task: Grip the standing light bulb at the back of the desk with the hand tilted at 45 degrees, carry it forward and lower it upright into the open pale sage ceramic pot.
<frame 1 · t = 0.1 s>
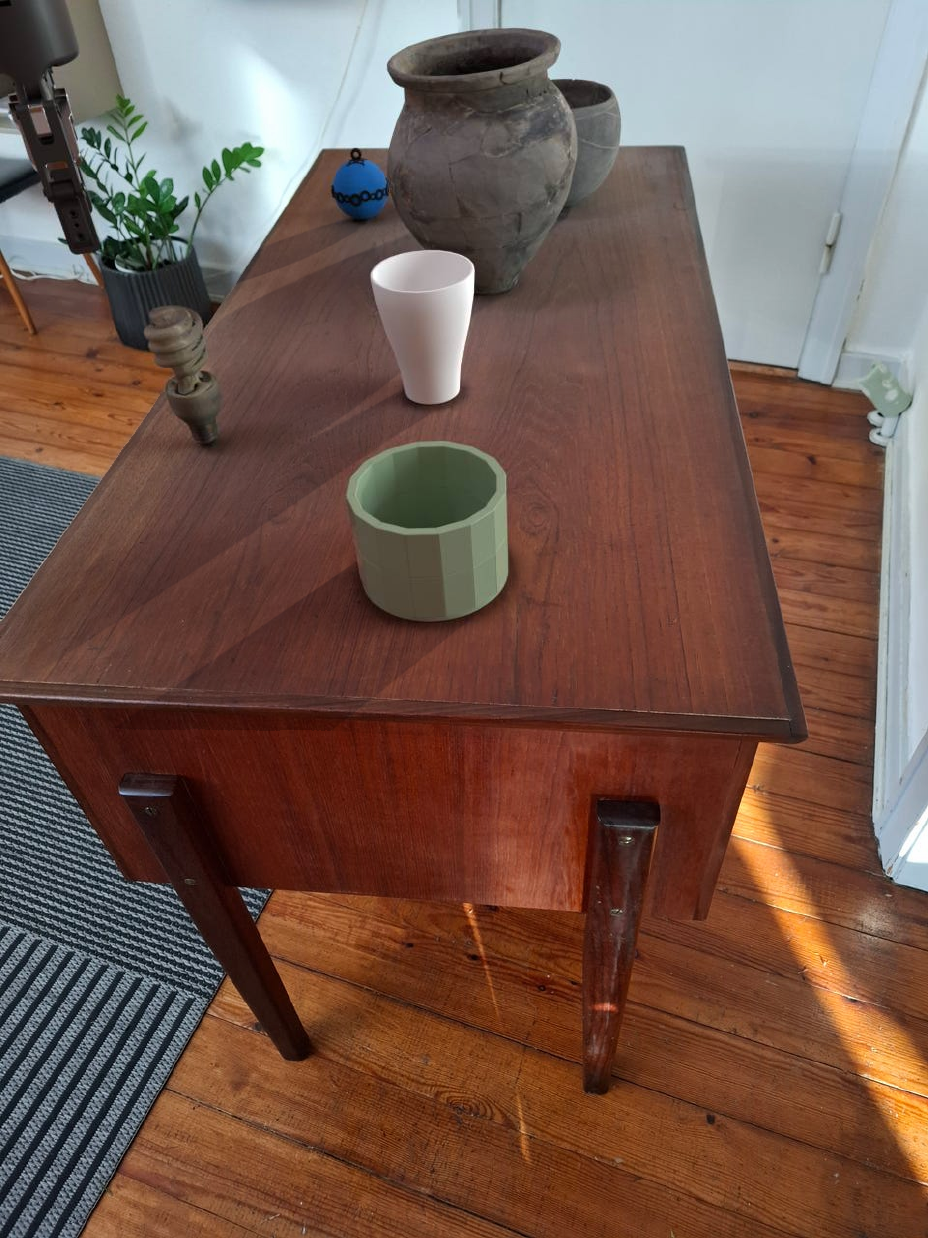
hand: (83, 232, 70), 25 cm above the table, tool pointing down, fingers open, 8 cm apart
cup: (432, 392, 99), on the table
ornament: (363, 219, 139), on the table
pot: (435, 571, 77), on the table
clay pot: (485, 283, 119), on the table
light bulb: (208, 446, 93), on the table
bowl: (549, 203, 139), on the table
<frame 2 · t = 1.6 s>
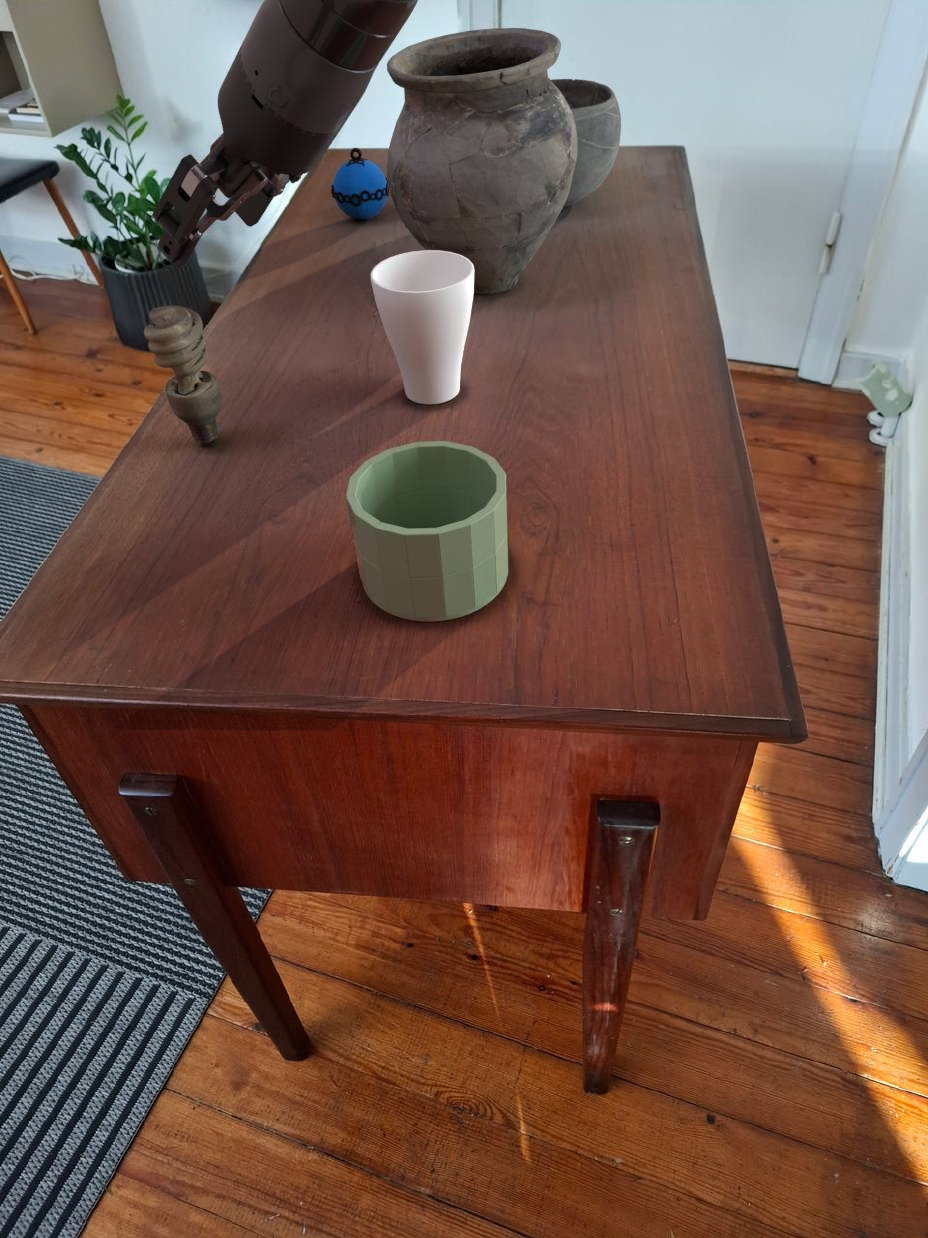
hand: (207, 235, 69), 25 cm above the table, tool tilted 45°, fingers open, 8 cm apart
nothing on the table moved.
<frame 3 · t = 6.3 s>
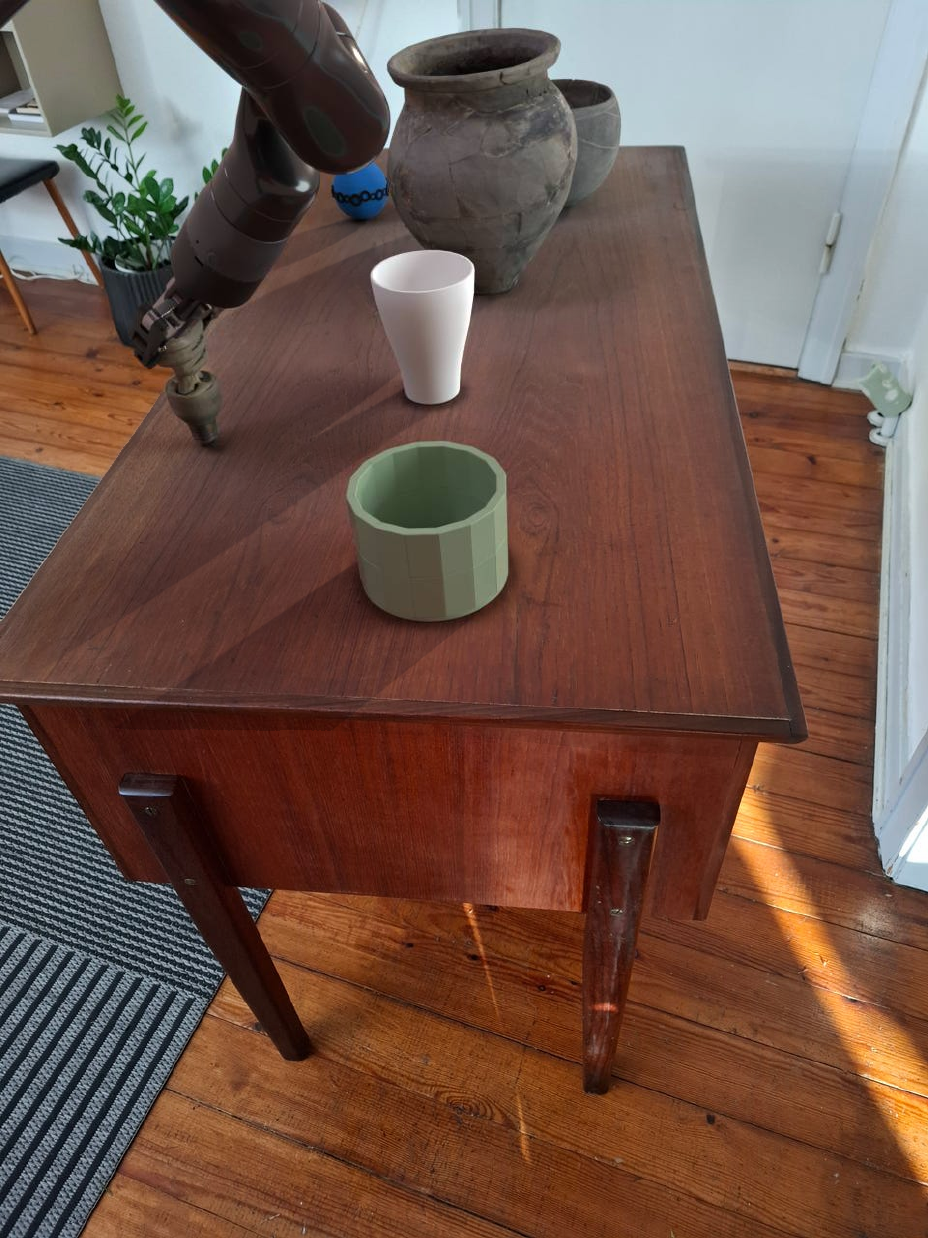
hand: (166, 346, 87), 11 cm above the table, tool tilted 45°, fingers closed on light bulb, 5 cm apart
light bulb: (208, 446, 93), on the table, touching gripper
everything else where it was.
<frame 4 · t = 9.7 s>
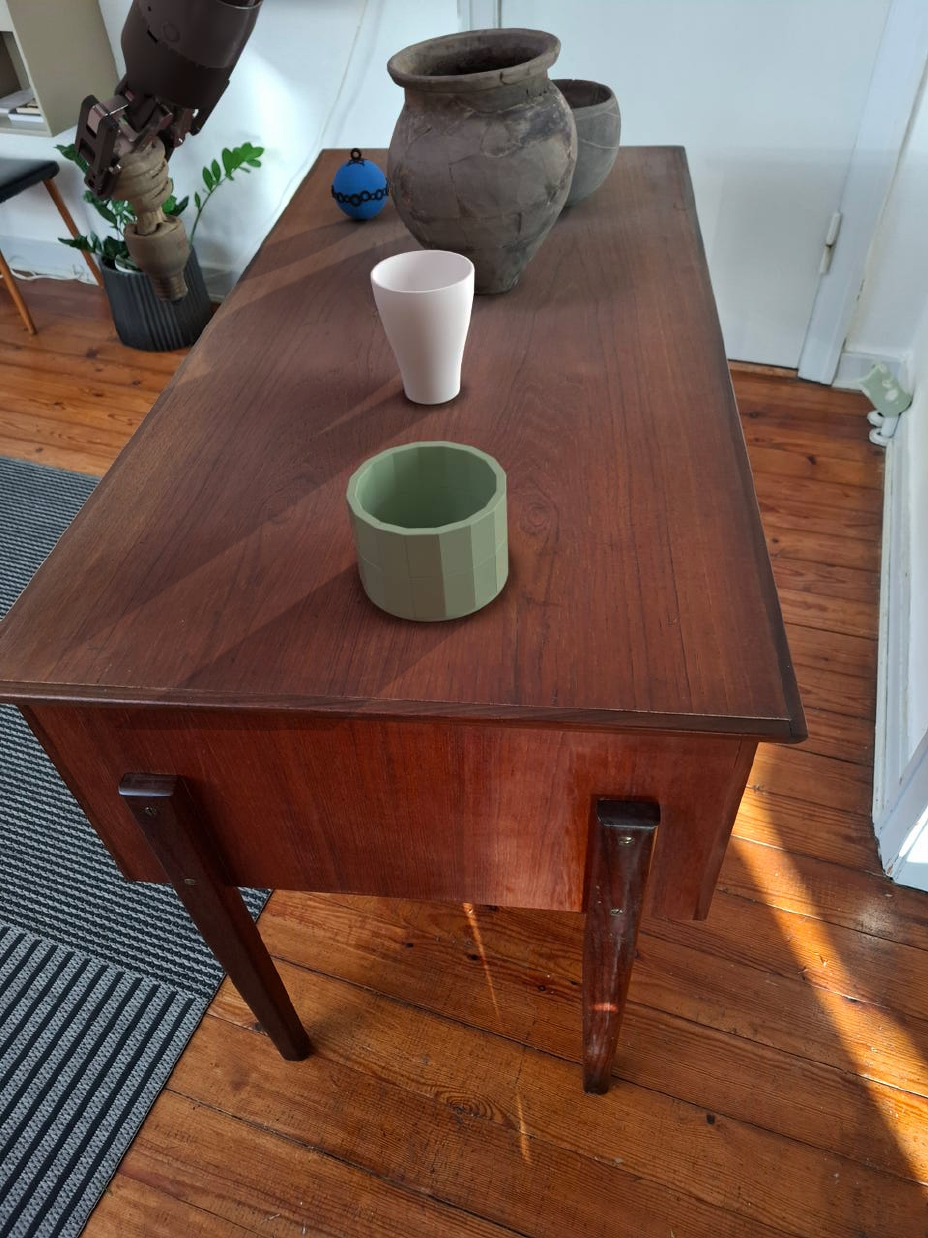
hand: (123, 178, 75), 26 cm above the table, tool tilted 45°, fingers closed on light bulb, 5 cm apart
light bulb: (175, 307, 82), point 15 cm above the table, touching gripper
everything else where it was.
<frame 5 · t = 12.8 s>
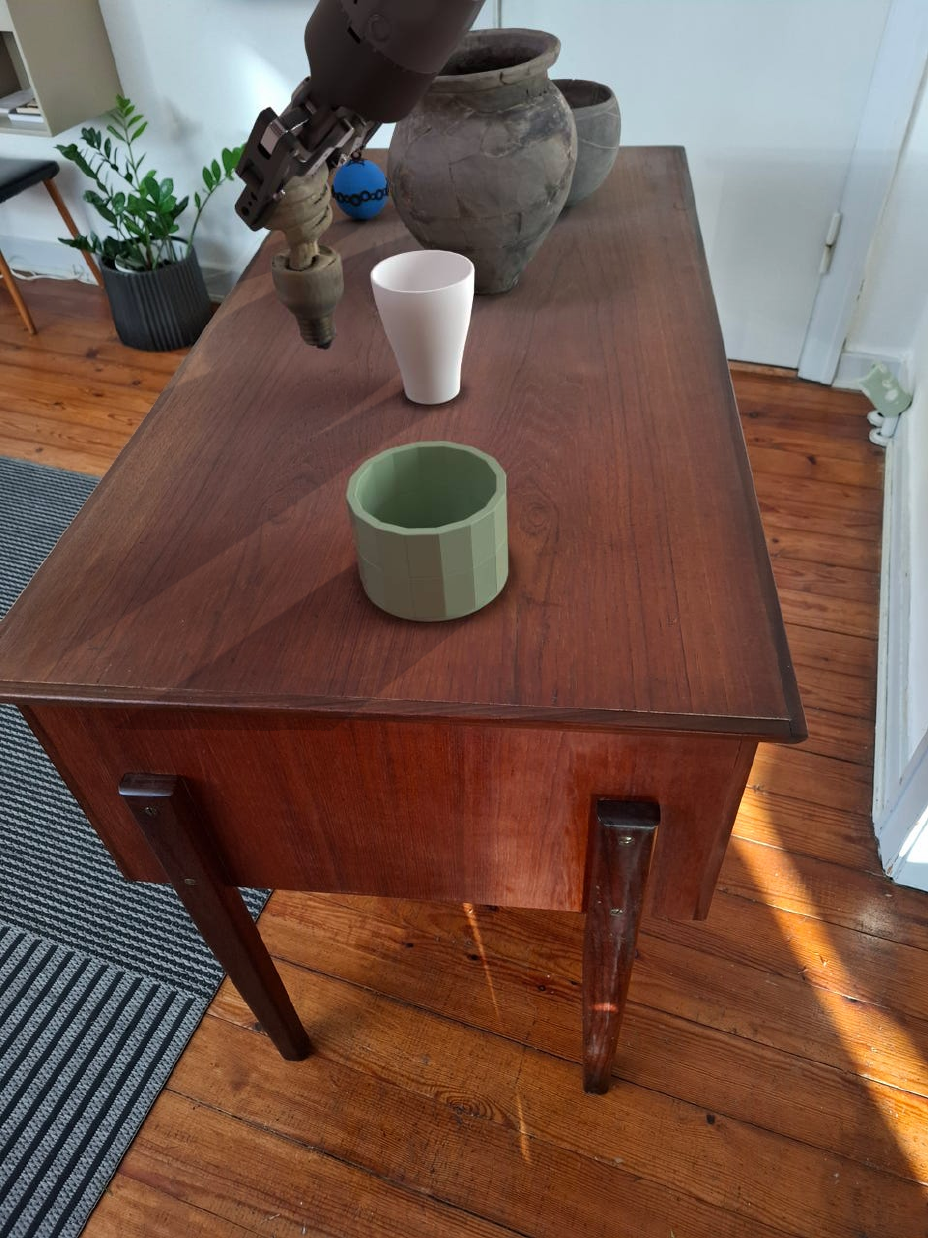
hand: (274, 204, 63), 28 cm above the table, tool tilted 45°, fingers closed on light bulb, 5 cm apart
light bulb: (320, 351, 70), point 17 cm above the table, touching gripper
everything else where it was.
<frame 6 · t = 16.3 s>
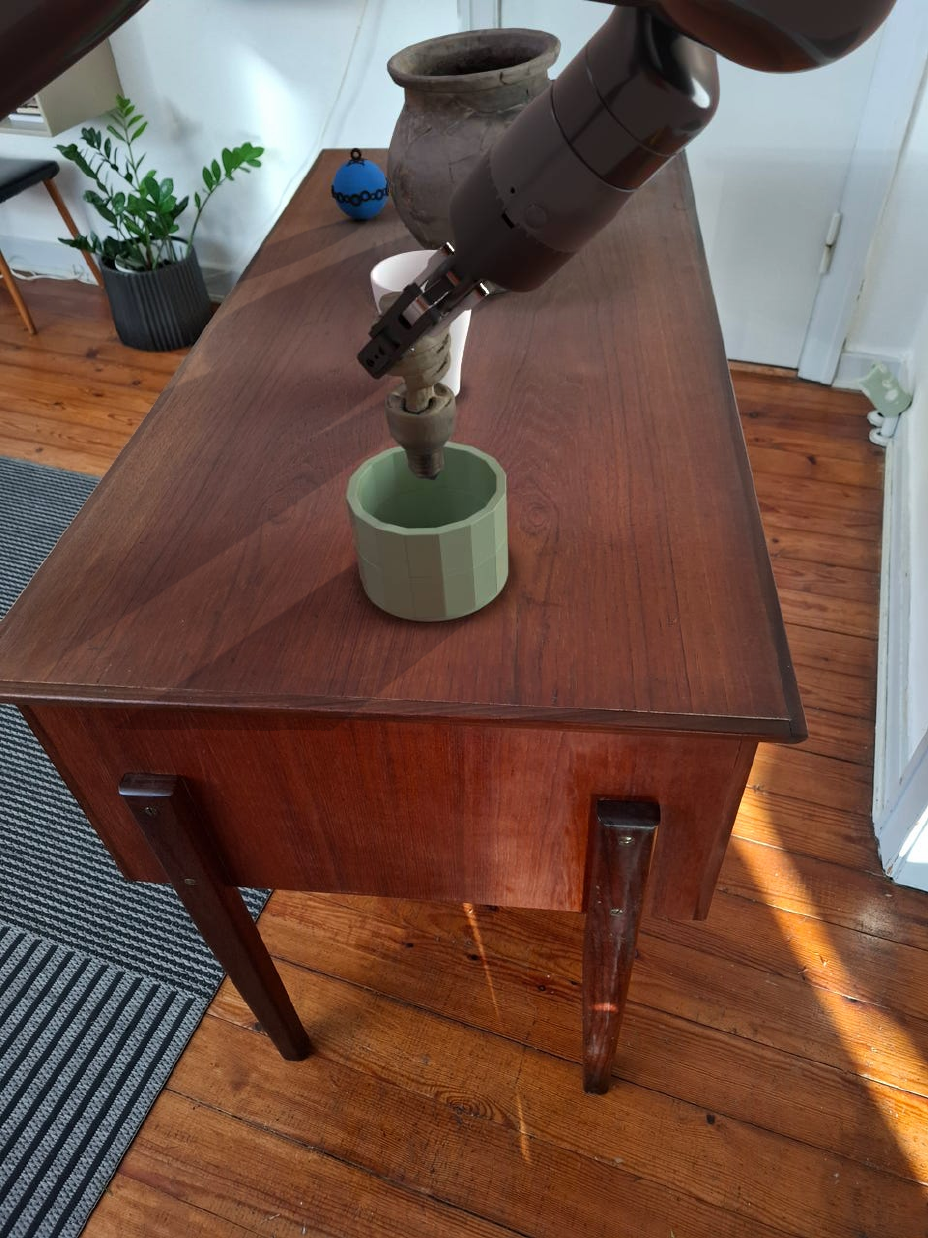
hand: (392, 347, 63), 20 cm above the table, tool tilted 45°, fingers closed on light bulb, 5 cm apart
light bulb: (427, 481, 70), point 9 cm above the table, touching gripper
everything else where it was.
when the fingers open (11 cm above the table, at t = 19.3 s): light bulb stays where it is, resting on pot.
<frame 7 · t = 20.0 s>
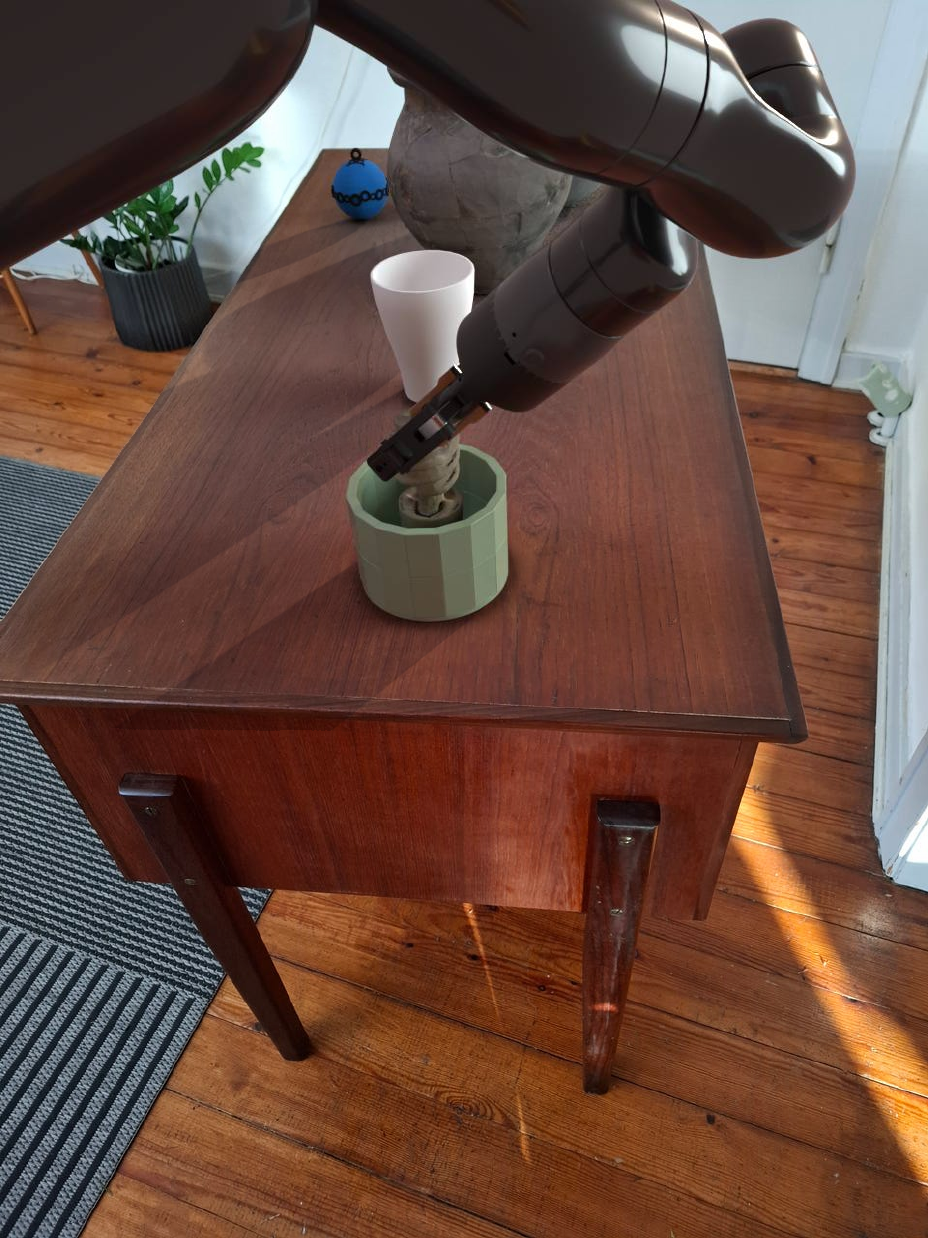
hand: (407, 441, 68), 13 cm above the table, tool tilted 45°, fingers open, 8 cm apart
light bulb: (436, 569, 76), resting on pot
everything else where it was.
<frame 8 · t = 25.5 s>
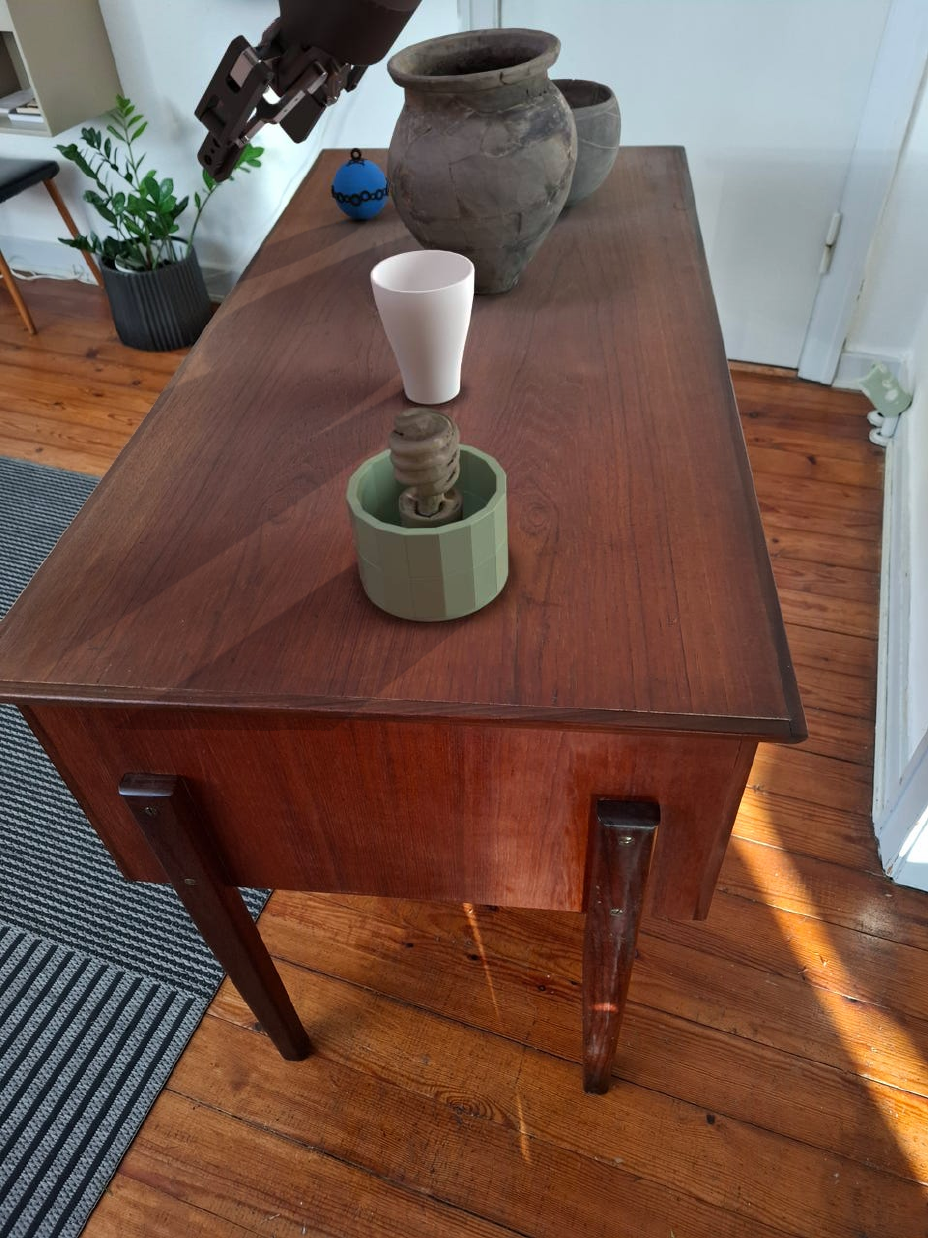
hand: (251, 150, 61), 32 cm above the table, tool tilted 45°, fingers open, 8 cm apart
nothing on the table moved.
at the end: light bulb inside the target area in the pot (0.2 cm from its centre), point 0.3 cm above the pot's base; light bulb tilted 0° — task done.
